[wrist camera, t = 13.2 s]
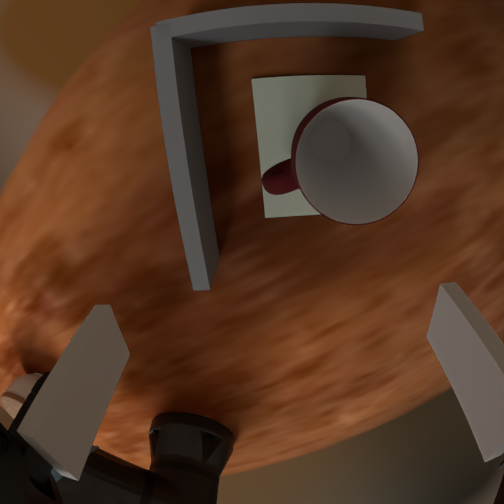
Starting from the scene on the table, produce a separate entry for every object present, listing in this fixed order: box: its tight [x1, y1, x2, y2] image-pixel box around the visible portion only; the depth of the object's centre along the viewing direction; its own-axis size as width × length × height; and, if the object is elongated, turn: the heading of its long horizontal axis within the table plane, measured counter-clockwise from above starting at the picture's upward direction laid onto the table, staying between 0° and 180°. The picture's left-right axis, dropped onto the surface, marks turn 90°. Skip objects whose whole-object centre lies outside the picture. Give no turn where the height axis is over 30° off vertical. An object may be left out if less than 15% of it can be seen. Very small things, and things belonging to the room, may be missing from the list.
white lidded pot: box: [1, 373, 43, 419], centre depth 43 cm, size 13×13×11 cm
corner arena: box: [150, 3, 424, 291], centre depth 24 cm, size 22×20×6 cm
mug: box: [262, 97, 419, 225], centre depth 23 cm, size 10×8×10 cm
